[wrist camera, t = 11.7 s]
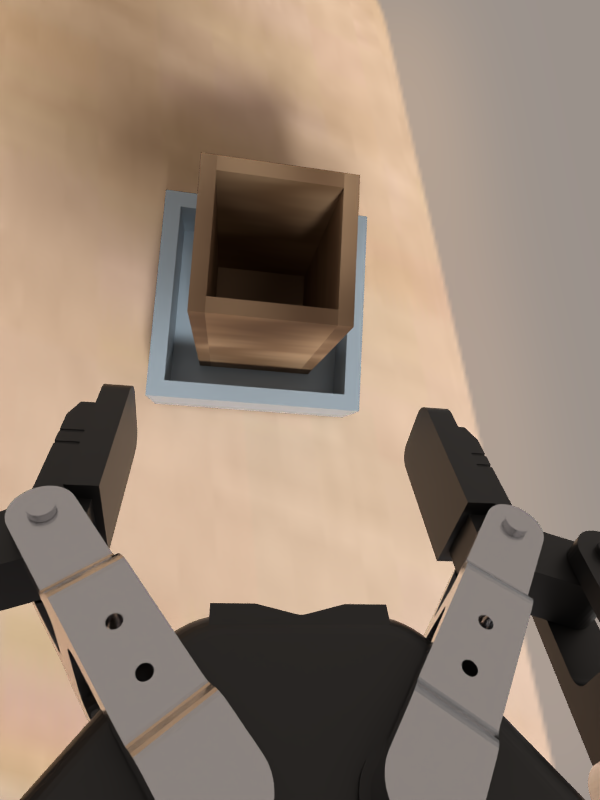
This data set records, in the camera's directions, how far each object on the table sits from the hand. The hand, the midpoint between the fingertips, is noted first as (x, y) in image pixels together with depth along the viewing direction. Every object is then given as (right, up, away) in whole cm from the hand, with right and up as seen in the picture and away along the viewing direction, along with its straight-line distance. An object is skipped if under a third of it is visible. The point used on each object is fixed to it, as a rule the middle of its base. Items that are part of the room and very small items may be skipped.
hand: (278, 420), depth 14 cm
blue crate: (-2, +5, +15) cm, 16 cm away
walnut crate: (-2, +5, +14) cm, 15 cm away
